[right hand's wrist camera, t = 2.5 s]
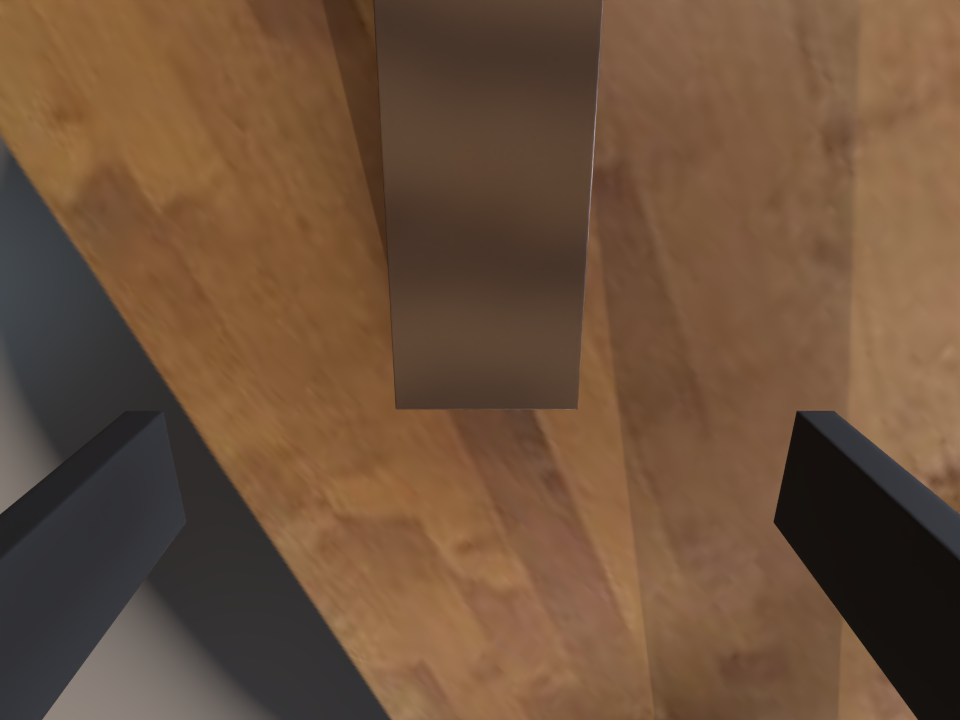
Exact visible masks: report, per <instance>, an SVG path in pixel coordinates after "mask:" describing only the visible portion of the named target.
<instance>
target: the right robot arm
mask: <svg viewBox="0 0 960 720" xmlns="http://www.w3.org/2000/svg"><path fill="white" fill-rule="evenodd" d="M185 523H186V518H185V513H184V508H183V504H182V499H181V494H180V489H179V484H178V480H177V475H176V470H175V465H174V461H173V456H172V451H171V446H170V441H169V437H168V432H167V427H166V422H165V417H164V413H163V411H126V412H124V413H123V414H122V415H121V416H120V417H118V418H117V419H116V420H115V421H113V422H112V423H111V424H110V425H109V426H107V427H106V428H105V429H104V430H103V431H101V432H100V433H99V434H98V435H96V436H95V437H94V438H93V439H92V440H90V441H89V442H88V443H87V444H85V445H84V446H83V447H82V448H81V449H79V450H78V451H77V452H76V453H74V454H73V455H72V456H71V457H70V458H68V459H67V460H66V461H65V462H64V463H62V464H61V465H60V466H59V467H57V468H56V469H55V470H54V471H53V472H51V473H50V474H49V475H48V476H46V477H45V478H44V479H43V480H42V481H40V482H39V483H38V484H37V485H36V486H34V487H33V488H32V489H31V490H29V491H28V492H27V493H26V494H25V495H23V496H22V497H21V498H20V499H18V500H17V501H16V502H15V503H14V504H12V505H11V506H10V507H9V508H8V509H6V510H5V511H4V512H3V513H1V514H0V720H42V719H43V718H44V716H45V715H46V714H47V712H48V711H49V709H50V708H51V707H52V705H53V704H54V703H55V701H56V700H57V699H58V697H59V696H60V694H61V693H62V692H63V690H64V689H65V688H66V686H67V685H68V683H69V682H70V681H71V679H72V678H73V677H74V675H75V674H76V673H77V671H78V670H79V668H80V667H81V666H82V664H83V663H84V662H85V660H86V659H87V657H88V656H89V655H90V653H91V652H92V651H93V649H94V648H95V646H96V645H97V644H98V642H99V641H100V640H101V638H102V637H103V636H104V634H105V633H106V631H107V630H108V629H109V627H110V626H111V625H112V623H113V622H114V621H115V619H116V618H117V616H118V615H119V614H120V612H121V611H122V610H123V608H124V607H125V605H126V604H127V603H128V601H129V600H130V599H131V597H132V596H133V595H134V593H135V592H136V590H137V589H138V588H139V586H140V585H141V584H142V582H143V581H144V579H145V578H146V577H147V575H148V574H149V573H150V571H151V570H152V569H153V567H154V566H155V564H156V563H157V562H158V560H159V559H160V558H161V556H162V555H163V553H164V552H165V551H166V549H167V548H168V547H169V545H170V544H171V543H172V541H173V540H174V538H175V537H176V536H177V534H178V533H179V532H180V530H181V529H182V527H183V526H184V525H185ZM774 523H775V525H776V526H777V528H778V529H779V530H780V532H781V533H782V534H783V536H784V537H785V538H786V540H787V541H788V543H789V544H790V545H791V547H792V548H793V549H794V551H795V552H796V554H797V555H798V556H799V558H800V559H801V560H802V562H803V563H804V564H805V566H806V567H807V569H808V570H809V571H810V573H811V574H812V575H813V577H814V578H815V580H816V581H817V582H818V584H819V585H820V586H821V588H822V589H823V590H824V592H825V593H826V595H827V596H828V597H829V599H830V600H831V601H832V603H833V604H834V605H835V607H836V608H837V610H838V611H839V612H840V614H841V615H842V616H843V618H844V619H845V621H846V622H847V623H848V625H849V626H850V627H851V629H852V630H853V631H854V633H855V634H856V636H857V637H858V638H859V640H860V641H861V642H862V644H863V645H864V647H865V648H866V649H867V651H868V652H869V653H870V655H871V656H872V657H873V659H874V660H875V662H876V663H877V664H878V666H879V667H880V668H881V670H882V671H883V673H884V674H885V675H886V677H887V678H888V679H889V681H890V682H891V683H892V685H893V686H894V688H895V689H896V690H897V692H898V693H899V694H900V696H901V697H902V699H903V700H904V701H905V703H906V704H907V705H908V707H909V708H910V709H911V711H912V712H913V714H914V715H915V716H916V718H917V719H918V720H960V514H959V513H957V512H956V511H955V510H954V509H952V508H951V507H950V506H949V505H948V504H946V503H945V502H944V501H943V500H942V499H940V498H939V497H938V496H937V495H935V494H934V493H933V492H932V491H931V490H929V489H928V488H927V487H926V486H924V485H923V484H922V483H921V482H920V481H918V480H917V479H916V478H915V477H914V476H912V475H911V474H910V473H909V472H907V471H906V470H905V469H904V468H903V467H901V466H900V465H899V464H898V463H896V462H895V461H894V460H893V459H892V458H890V457H889V456H888V455H887V454H886V453H884V452H883V451H882V450H881V449H879V448H878V447H877V446H876V445H875V444H873V443H872V442H871V441H870V440H868V439H867V438H866V437H865V436H864V435H862V434H861V433H860V432H859V431H858V430H856V429H855V428H854V427H853V426H851V425H850V424H849V423H848V422H847V421H845V420H844V419H843V418H842V417H840V416H839V415H838V414H837V413H836V412H834V411H797V413H796V417H795V422H794V427H793V432H792V436H791V441H790V446H789V451H788V456H787V460H786V465H785V470H784V475H783V480H782V484H781V489H780V494H779V499H778V503H777V508H776V513H775V518H774Z"/></svg>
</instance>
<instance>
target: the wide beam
mask: <svg viewBox="0 0 960 720" xmlns="http://www.w3.org/2000/svg"><path fill="white" fill-rule="evenodd" d="M603 1H604V0H373V2H374V20H375V39H376V57H377V75H378V93H379V112H380V130H381V148H382V166H383V185H384V203H385V221H386V239H387V258H388V276H389V294H390V312H391V331H392V349H393V367H394V385H395V404H396V409H471V410H577V409H578V393H579V378H580V362H581V346H582V331H583V315H584V299H585V283H586V268H587V252H588V236H589V221H590V205H591V189H592V174H593V158H594V142H595V127H596V111H597V95H598V80H599V64H600V48H601V33H602V17H603Z"/></svg>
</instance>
